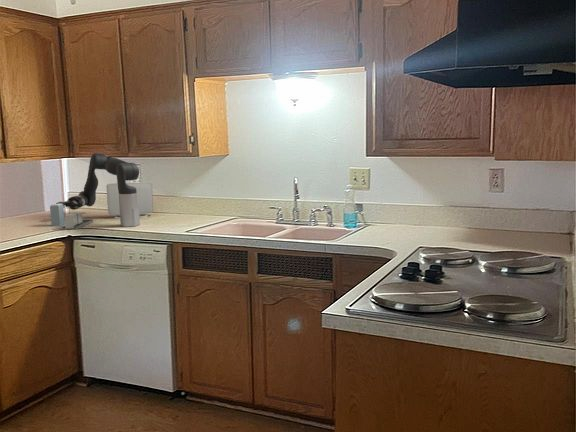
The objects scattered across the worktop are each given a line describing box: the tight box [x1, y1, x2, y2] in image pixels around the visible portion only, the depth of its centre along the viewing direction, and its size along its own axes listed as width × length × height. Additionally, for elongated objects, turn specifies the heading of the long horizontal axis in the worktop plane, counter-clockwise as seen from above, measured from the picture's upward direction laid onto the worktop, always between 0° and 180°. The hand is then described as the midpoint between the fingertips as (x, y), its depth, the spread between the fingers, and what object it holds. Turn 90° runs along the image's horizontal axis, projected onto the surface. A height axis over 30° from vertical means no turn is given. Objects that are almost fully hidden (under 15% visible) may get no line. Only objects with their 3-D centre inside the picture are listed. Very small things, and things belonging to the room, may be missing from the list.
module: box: [49, 203, 65, 227], centre depth 316 cm, size 6×5×12 cm
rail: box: [61, 211, 94, 230], centre depth 313 cm, size 23×8×8 cm, turn 178°
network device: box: [105, 181, 154, 220], centre depth 342 cm, size 26×9×20 cm, turn 108°
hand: (65, 206), depth 327 cm, fingers open, 8 cm apart
